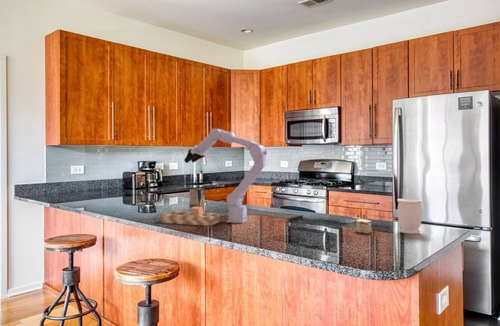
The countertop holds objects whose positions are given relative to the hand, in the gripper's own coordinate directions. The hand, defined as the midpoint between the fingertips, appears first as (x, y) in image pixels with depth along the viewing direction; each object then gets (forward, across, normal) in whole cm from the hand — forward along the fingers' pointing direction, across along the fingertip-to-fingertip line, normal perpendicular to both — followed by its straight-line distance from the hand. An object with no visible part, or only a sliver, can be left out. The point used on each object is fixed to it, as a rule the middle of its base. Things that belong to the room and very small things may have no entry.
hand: (188, 161), depth 208 cm
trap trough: (+17, +9, +28) cm, 34 cm away
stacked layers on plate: (-49, +6, +86) cm, 99 cm away
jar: (-65, +1, +99) cm, 118 cm away
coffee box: (+22, -10, +24) cm, 34 cm away
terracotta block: (+12, +9, +28) cm, 32 cm away
